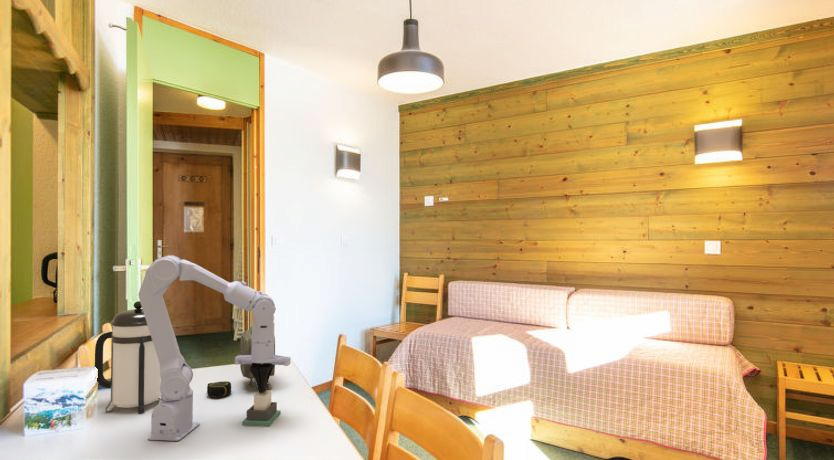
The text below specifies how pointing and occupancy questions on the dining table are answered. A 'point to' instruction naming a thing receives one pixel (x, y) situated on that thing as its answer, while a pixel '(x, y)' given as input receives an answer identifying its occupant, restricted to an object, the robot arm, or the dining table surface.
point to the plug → (262, 400)
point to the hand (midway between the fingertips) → (262, 391)
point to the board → (261, 416)
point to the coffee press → (130, 361)
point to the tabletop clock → (247, 350)
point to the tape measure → (219, 389)
